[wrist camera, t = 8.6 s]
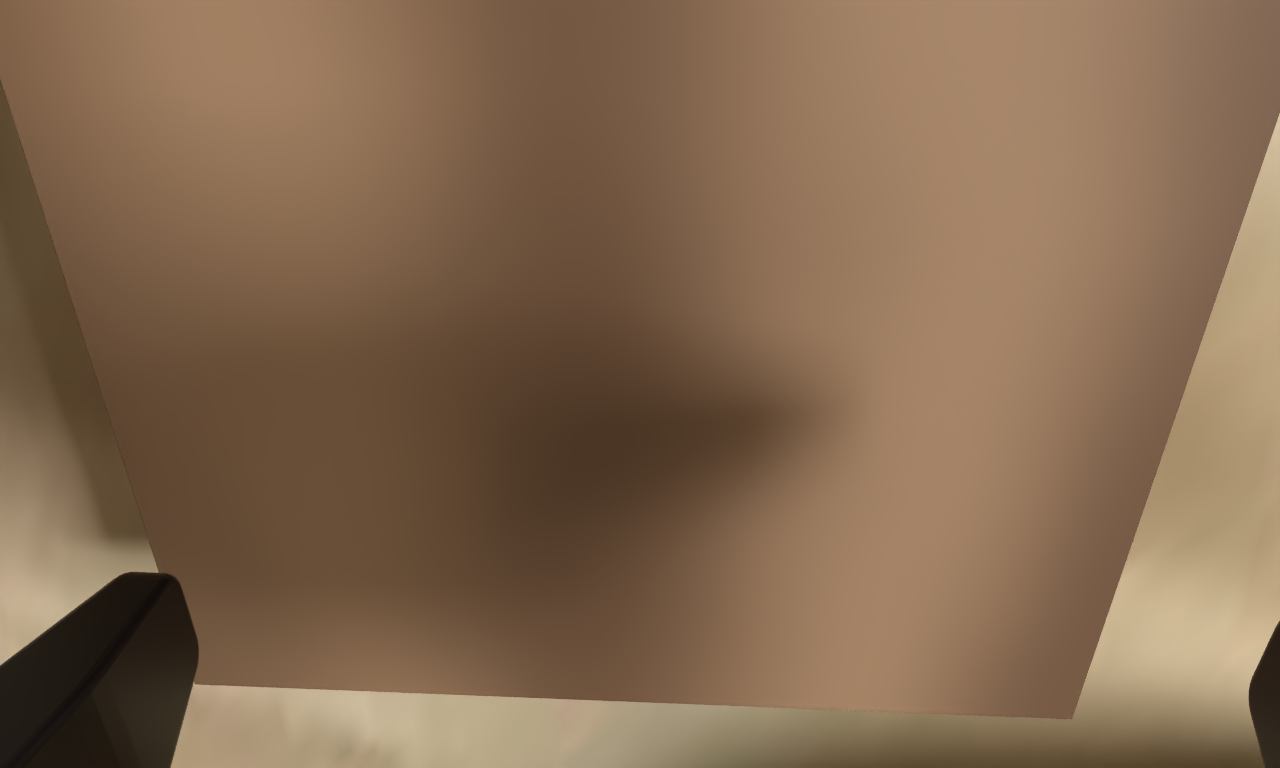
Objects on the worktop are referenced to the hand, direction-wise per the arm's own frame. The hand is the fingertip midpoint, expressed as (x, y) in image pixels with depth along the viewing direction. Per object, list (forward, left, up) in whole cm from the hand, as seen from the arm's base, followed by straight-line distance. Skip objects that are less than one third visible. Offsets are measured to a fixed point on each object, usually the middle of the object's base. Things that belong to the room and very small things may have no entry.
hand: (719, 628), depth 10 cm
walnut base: (+1, 0, -7) cm, 7 cm away
